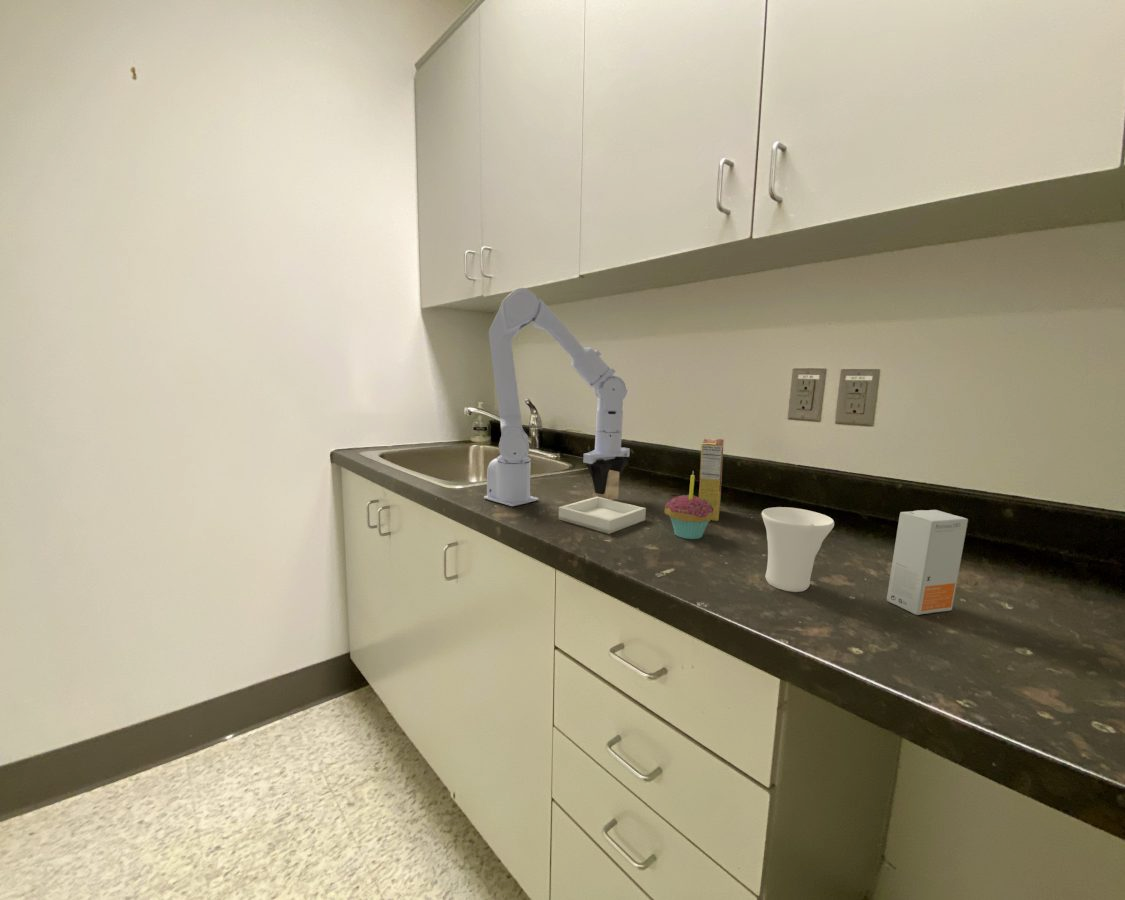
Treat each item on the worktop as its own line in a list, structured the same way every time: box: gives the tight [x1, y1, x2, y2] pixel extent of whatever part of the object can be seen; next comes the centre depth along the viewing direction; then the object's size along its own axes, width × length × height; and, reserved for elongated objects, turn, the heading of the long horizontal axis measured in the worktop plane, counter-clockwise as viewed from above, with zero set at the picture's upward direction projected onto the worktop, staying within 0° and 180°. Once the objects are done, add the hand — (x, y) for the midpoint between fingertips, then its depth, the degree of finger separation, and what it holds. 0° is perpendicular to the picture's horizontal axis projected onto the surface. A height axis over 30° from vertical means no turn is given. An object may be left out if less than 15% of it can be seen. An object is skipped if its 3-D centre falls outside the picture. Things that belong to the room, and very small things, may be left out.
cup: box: [761, 506, 835, 593], centre depth 66 cm, size 9×9×10 cm
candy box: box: [698, 438, 725, 522], centre depth 98 cm, size 9×4×15 cm, turn 160°
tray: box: [557, 496, 647, 535], centre depth 93 cm, size 12×12×2 cm
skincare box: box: [886, 509, 969, 616], centre depth 60 cm, size 6×4×12 cm
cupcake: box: [664, 470, 714, 540], centre depth 85 cm, size 9×8×12 cm
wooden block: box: [592, 470, 620, 501], centre depth 107 cm, size 4×4×6 cm
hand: (605, 491), depth 107 cm, fingers closed on wooden block, 4 cm apart
